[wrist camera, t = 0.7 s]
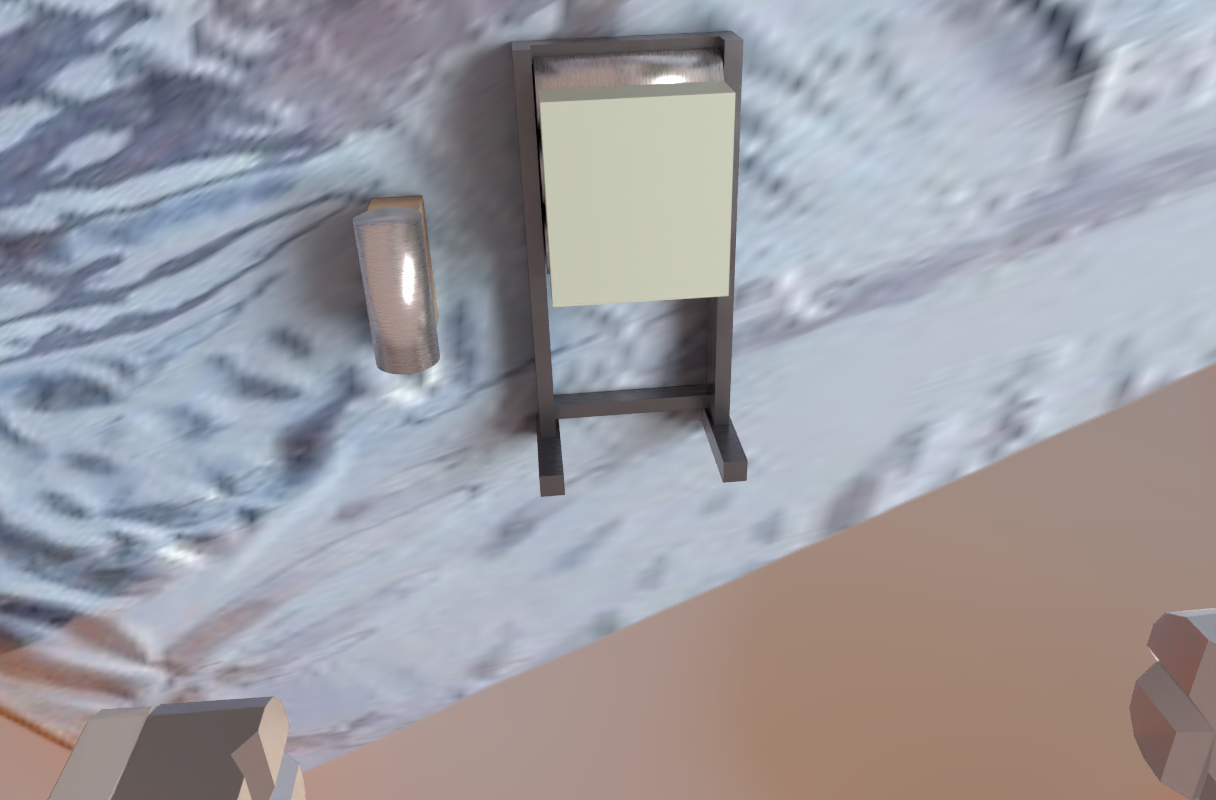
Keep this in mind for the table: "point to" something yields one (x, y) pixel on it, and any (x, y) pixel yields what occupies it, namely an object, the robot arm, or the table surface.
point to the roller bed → (552, 70)
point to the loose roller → (397, 289)
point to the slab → (638, 191)
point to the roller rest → (417, 204)
